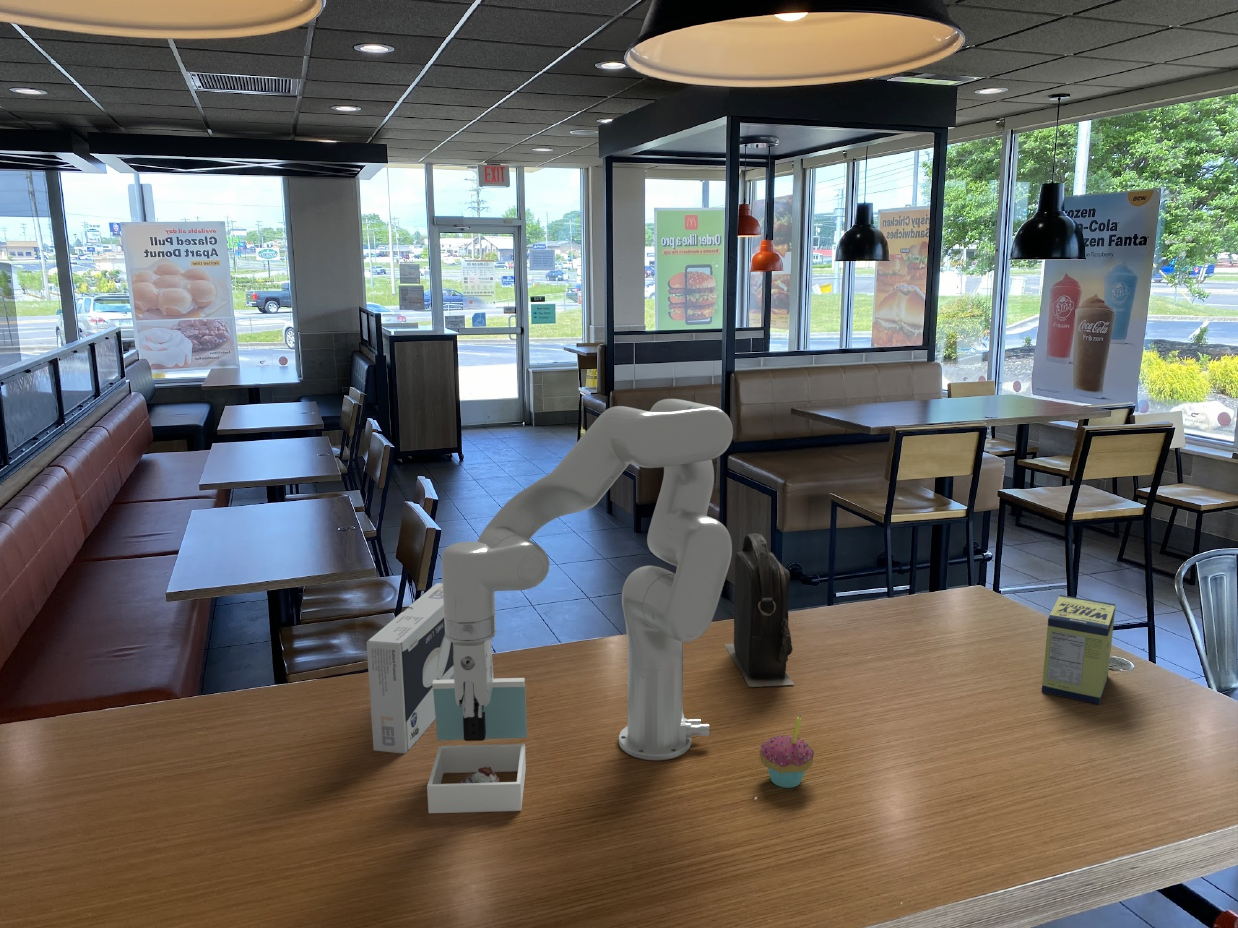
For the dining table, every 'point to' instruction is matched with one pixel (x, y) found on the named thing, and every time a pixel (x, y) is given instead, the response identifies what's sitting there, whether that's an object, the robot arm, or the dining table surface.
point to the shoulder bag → (761, 615)
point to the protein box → (1078, 649)
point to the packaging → (408, 672)
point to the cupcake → (786, 758)
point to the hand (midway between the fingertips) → (475, 737)
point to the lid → (500, 713)
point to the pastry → (482, 776)
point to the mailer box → (477, 794)
